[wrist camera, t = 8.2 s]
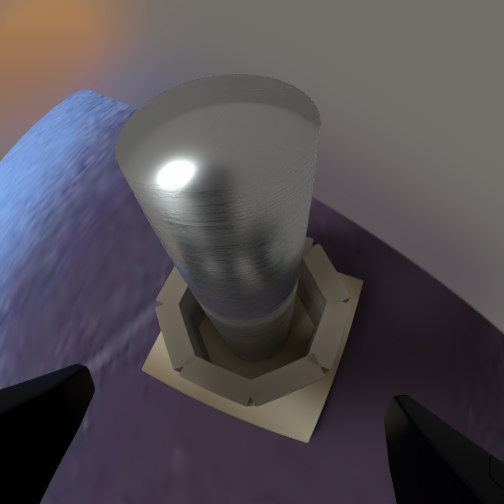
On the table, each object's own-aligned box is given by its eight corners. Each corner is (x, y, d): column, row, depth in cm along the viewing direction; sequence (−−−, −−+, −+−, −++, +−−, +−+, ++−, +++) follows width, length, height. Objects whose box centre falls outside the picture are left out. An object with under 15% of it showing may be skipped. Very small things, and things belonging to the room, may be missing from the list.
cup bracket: (305, 440, 13) (320, 455, 9) (148, 372, 16) (107, 356, 11) (359, 287, 18) (384, 246, 13) (217, 239, 20) (203, 191, 16)
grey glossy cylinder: (253, 374, 14) (182, 239, 3) (210, 327, 16) (92, 133, 5) (301, 330, 16) (361, 118, 4) (258, 287, 17) (230, 62, 6)
